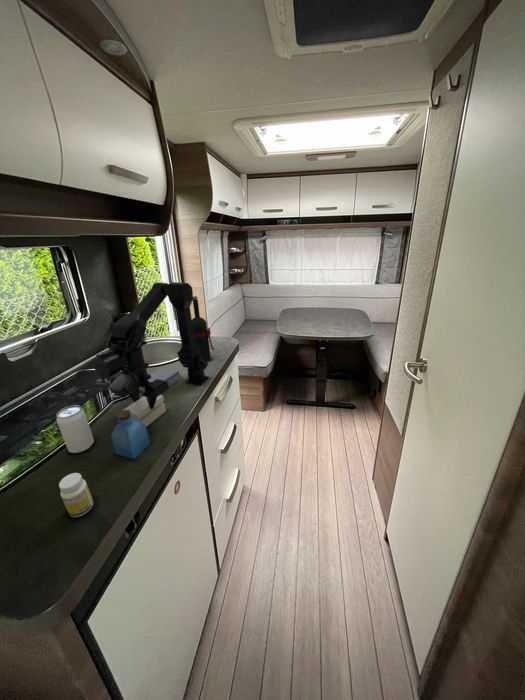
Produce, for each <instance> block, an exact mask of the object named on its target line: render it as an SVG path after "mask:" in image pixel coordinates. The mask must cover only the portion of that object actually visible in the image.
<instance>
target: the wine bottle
mask: <svg viewBox="0 0 525 700" xmlns="http://www.w3.org/2000/svg"><path fill="white" fill-rule="evenodd" d="M192 305H193V306H192V307H193V314H194V317H193V318H191V319H192V325H193V332H194V338H195V344H196V345H197V346H198V348H199V349H200V350H201V354H202V357H203V358H204V359H206V360H207V361H208V362H210V361H211V360H212V357H211V349H212V351H213V352H215V348H214V346H213V343H212V339H211V333H212V332H211V328H210V327H208V323H207V321H206V320H205V318H203V317H201V316H200V315H201V314H200V308H199V299H198V295H193V301H192Z"/></svg>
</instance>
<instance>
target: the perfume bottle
mask: <svg viewBox="0 0 525 700" xmlns="http://www.w3.org/2000/svg"><path fill="white" fill-rule="evenodd" d="M117 421H118V424H116V426H114V428H113V430H112V433H111V435H110V439H111V442H112V445H113V449H114V451H115V455H118V456H121V457H125V458H129V459H133V460H135V459H136V458H138V457H139V455H140V454H141V453H142V452H143V451H144V450H145V449H146V448H147V447H148V446H149V445H150V444H151V442H150V439H149V433H148V430H147V427H146V426H145V425H144V424H142V423H141V422H139V421H138V420H133V417H132V414H130V410H124V409H123V410H121V411H119V412H118V413H117Z"/></svg>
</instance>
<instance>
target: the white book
mask: <svg viewBox="0 0 525 700" xmlns="http://www.w3.org/2000/svg"><path fill="white" fill-rule="evenodd" d="M139 398H140V399H139V400H137V401H136V402H133V403H131V404H130V405H127V406H126V408H124V409H123V410H130V414H132V417H133V418H134V419H137V420H139V419H140V418H142V417H143V416H145V415H146V414H147V413H149V412H150V411H151V410H153V409H154V408H155V407H157V406H158V405H159V404H161V403H164V402H165V397H164V395H162V394H161V395H159V396H158V397H157V399H156V402H155V405H154V408H153V409H150V407H149V405H148V402H147V399H146V397H144V396H141V397H139Z"/></svg>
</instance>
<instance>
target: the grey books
mask: <svg viewBox="0 0 525 700" xmlns="http://www.w3.org/2000/svg"><path fill="white" fill-rule="evenodd" d="M150 375H151V378H150V379H149V380H148V381H149V382H153V381H155V380H156V379H159V380H163V381H166V382H168V385H169V387H171V386H172V385H174V384H175V383H176V382H178V381H179V380H181V379H182V374H180V370H176V369H172V368H167V367H161V368H159V369H157V370H156V371H154V372H152V373H150ZM144 390H145V388H144V387H141V388H140V387H139V392H143V393H145V391H144Z"/></svg>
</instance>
